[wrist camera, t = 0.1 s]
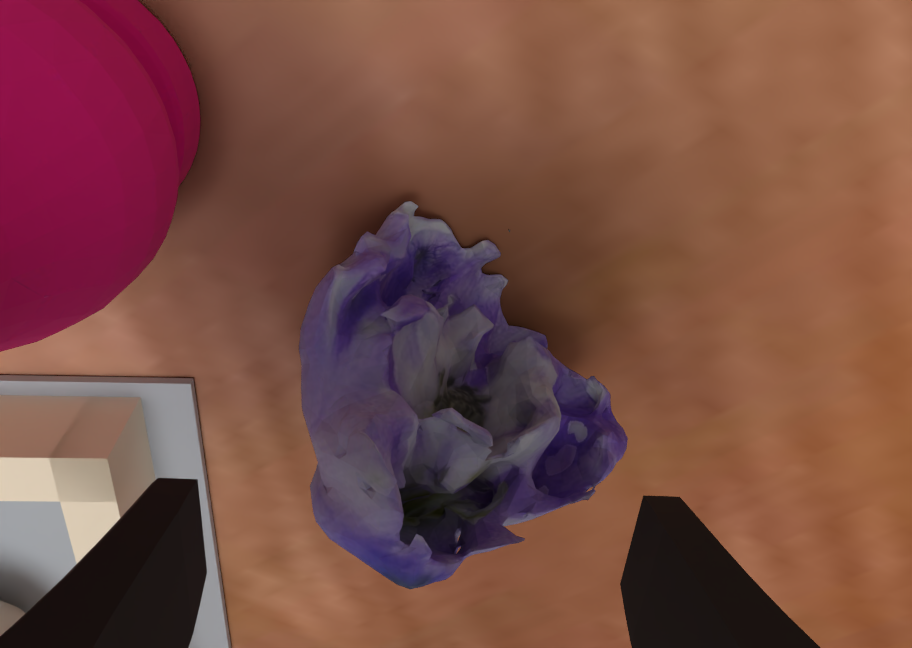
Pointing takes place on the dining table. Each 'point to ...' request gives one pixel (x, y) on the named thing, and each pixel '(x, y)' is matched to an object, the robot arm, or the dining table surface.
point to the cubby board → (94, 476)
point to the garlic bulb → (8, 616)
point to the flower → (438, 406)
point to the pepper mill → (85, 156)
